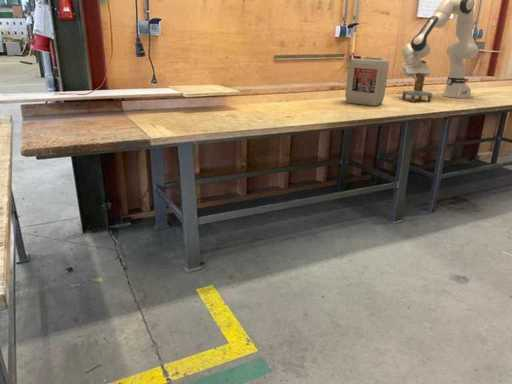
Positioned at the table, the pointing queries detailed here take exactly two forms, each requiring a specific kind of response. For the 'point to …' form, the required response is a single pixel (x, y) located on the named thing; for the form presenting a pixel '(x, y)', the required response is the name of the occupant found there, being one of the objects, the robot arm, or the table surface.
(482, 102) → the table surface
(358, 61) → the jerry can
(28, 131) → the table surface
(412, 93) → the step stool
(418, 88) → the walnut post
